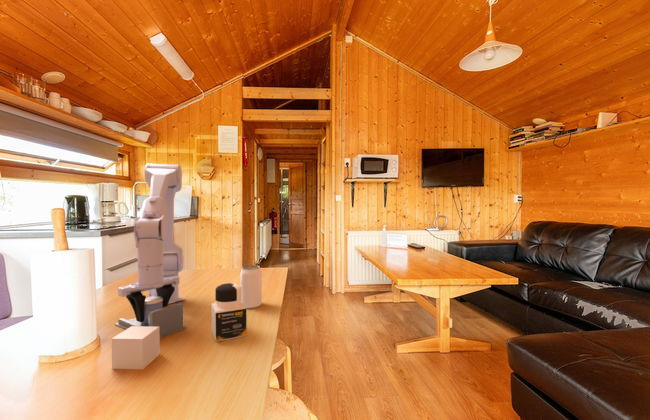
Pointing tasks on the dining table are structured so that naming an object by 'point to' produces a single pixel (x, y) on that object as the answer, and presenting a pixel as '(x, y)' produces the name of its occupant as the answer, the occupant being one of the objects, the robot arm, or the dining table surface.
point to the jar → (151, 307)
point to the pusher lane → (160, 320)
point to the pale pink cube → (135, 347)
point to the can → (251, 286)
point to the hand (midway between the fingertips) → (151, 317)
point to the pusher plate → (149, 317)
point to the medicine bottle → (228, 313)
